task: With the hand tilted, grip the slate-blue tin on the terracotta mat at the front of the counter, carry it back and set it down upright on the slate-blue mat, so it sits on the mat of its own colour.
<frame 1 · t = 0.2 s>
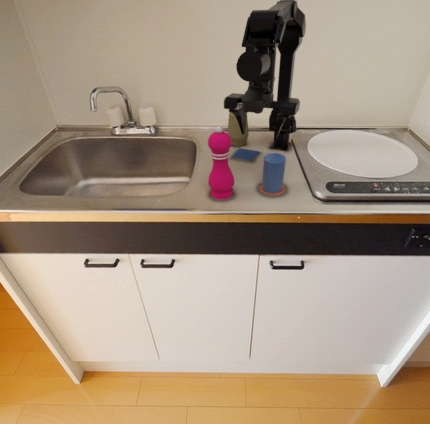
hand: (259, 136, 77), 15 cm above the table, tool pointing down, fingers open, 9 cm apart
blue mat: (245, 155, 101), on the table
terracotta mat: (272, 189, 82), on the table
pepper mill: (221, 195, 81), on the table
squeeze bottle: (238, 143, 109), on the table
blue tin: (272, 187, 82), resting on terracotta mat
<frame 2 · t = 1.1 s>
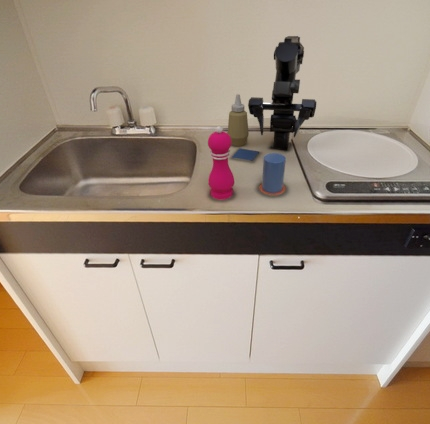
hand: (277, 135, 80), 13 cm above the table, tool tilted 45°, fingers open, 9 cm apart
nothing on the table moved.
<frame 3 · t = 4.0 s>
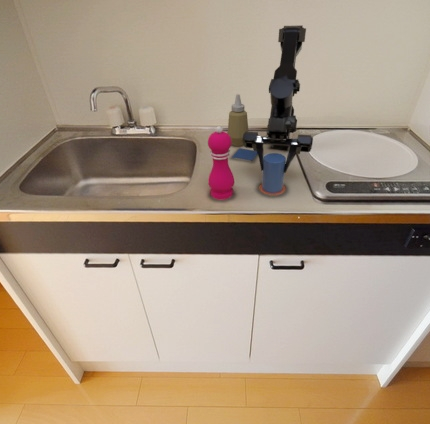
hand: (273, 171, 77), 7 cm above the table, tool tilted 45°, fingers closed on blue tin, 6 cm apart
blue tin: (272, 187, 82), point 1 cm above the table, touching gripper, terracotta mat
everything else where it was.
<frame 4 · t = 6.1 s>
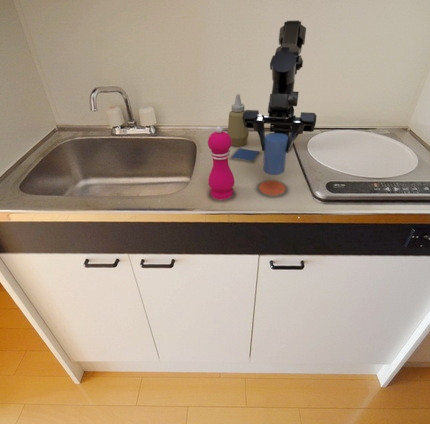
hand: (274, 151, 74), 12 cm above the table, tool tilted 45°, fingers closed on blue tin, 6 cm apart
blue tin: (273, 169, 79), point 6 cm above the table, touching gripper
everything else where it was.
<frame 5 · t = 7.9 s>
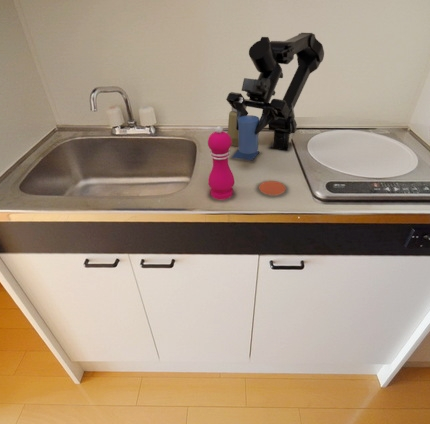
hand: (246, 131, 82), 14 cm above the table, tool tilted 45°, fingers closed on blue tin, 6 cm apart
blue tin: (248, 149, 87), point 8 cm above the table, touching gripper
everything else where it was.
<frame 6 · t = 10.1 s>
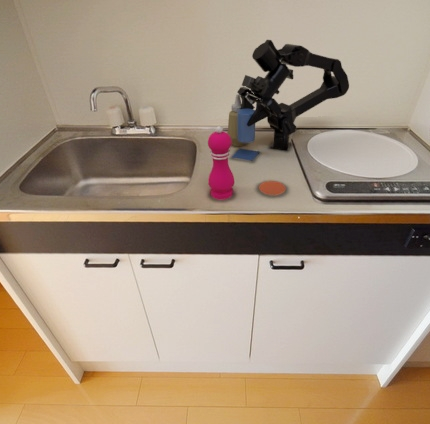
hand: (242, 122, 93), 12 cm above the table, tool tilted 45°, fingers closed on blue tin, 6 cm apart
blue tin: (246, 139, 97), point 6 cm above the table, touching gripper
everything else where it was.
when the fingers open (7 cm above the table, at t = 12.1 s): blue tin stays where it is, resting on blue mat.
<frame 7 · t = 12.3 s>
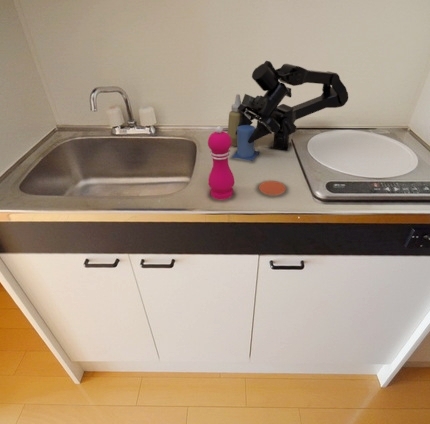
hand: (242, 138, 96), 7 cm above the table, tool tilted 45°, fingers open, 8 cm apart
squeeze bottle: (238, 143, 109), on the table, touching gripper
blue tin: (245, 154, 100), point 1 cm above the table, touching blue mat
everything else where it was.
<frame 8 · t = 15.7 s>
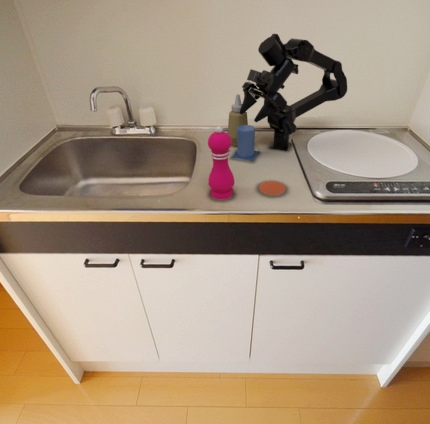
hand: (247, 117, 92), 14 cm above the table, tool tilted 45°, fingers open, 9 cm apart
squeeze bottle: (238, 143, 109), on the table
everything else where it was.
at the end: blue tin inside the target area on the blue mat (0.0 cm from its centre), point 0.6 cm above the blue mat's base; blue tin tilted 0°; blue tin moved 23.4 cm from its start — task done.
